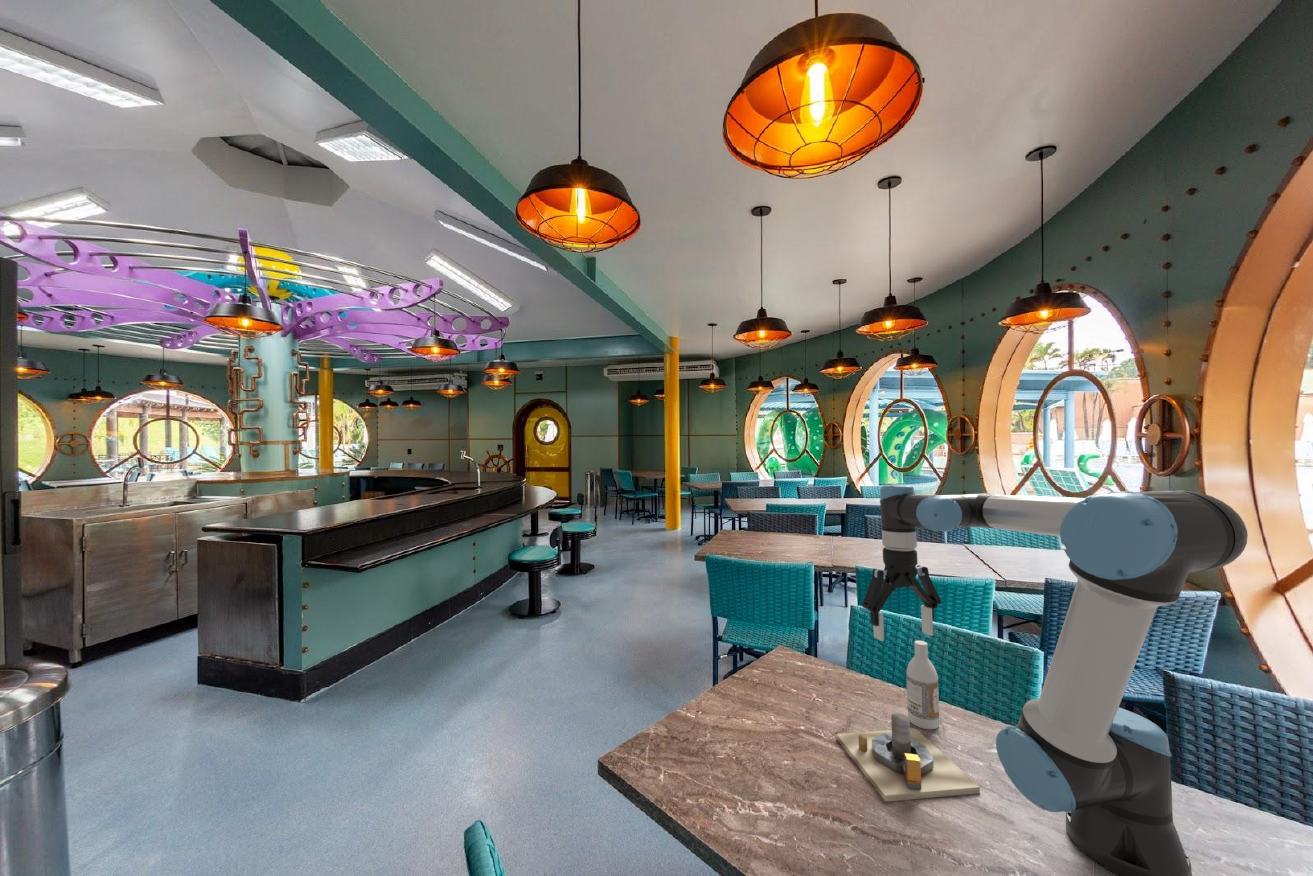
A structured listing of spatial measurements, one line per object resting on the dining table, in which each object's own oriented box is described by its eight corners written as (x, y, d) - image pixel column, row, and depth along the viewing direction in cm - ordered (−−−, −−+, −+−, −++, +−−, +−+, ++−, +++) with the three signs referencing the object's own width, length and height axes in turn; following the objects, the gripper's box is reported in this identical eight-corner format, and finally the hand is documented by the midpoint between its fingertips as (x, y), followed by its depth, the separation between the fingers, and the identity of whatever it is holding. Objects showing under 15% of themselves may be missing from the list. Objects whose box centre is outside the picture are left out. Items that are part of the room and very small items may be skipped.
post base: (979, 793, 93) (978, 742, 93) (885, 801, 91) (883, 750, 91) (915, 733, 113) (913, 691, 113) (836, 739, 111) (835, 696, 111)
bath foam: (934, 734, 112) (932, 650, 113) (904, 722, 117) (901, 642, 118) (943, 722, 117) (940, 642, 118) (913, 711, 122) (910, 635, 123)
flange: (869, 738, 109) (868, 713, 109) (922, 745, 106) (921, 720, 106) (884, 784, 94) (883, 756, 94) (946, 793, 91) (945, 764, 91)
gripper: (931, 542, 120) (935, 626, 119) (844, 548, 115) (848, 635, 114) (955, 547, 112) (960, 637, 111) (864, 553, 107) (868, 647, 106)
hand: (903, 636), depth 112 cm, fingers open, 13 cm apart
